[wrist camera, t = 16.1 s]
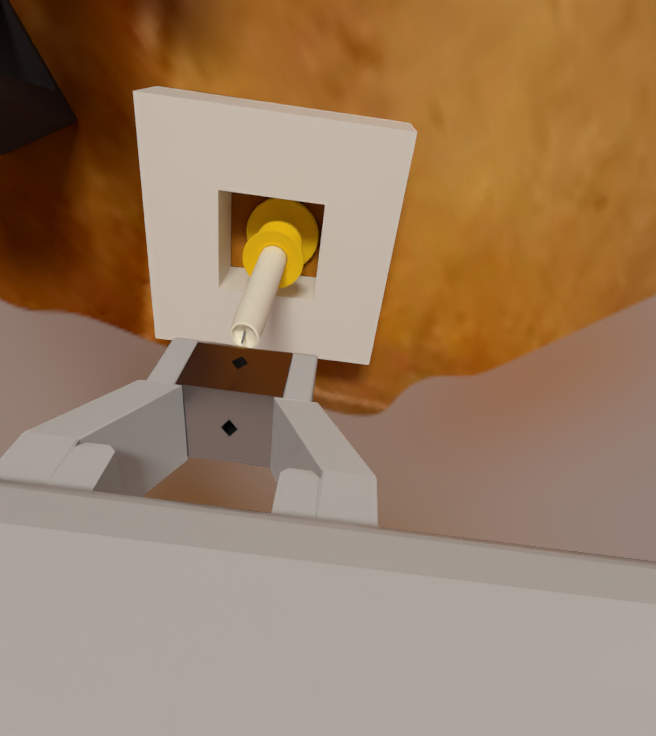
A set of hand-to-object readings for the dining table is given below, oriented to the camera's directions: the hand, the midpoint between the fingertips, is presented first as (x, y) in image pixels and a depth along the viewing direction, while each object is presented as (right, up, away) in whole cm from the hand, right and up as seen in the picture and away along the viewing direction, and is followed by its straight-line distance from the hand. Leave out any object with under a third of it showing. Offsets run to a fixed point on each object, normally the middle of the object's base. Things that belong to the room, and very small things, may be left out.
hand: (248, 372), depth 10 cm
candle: (-2, +10, +25) cm, 27 cm away
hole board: (-2, +10, +24) cm, 26 cm away
